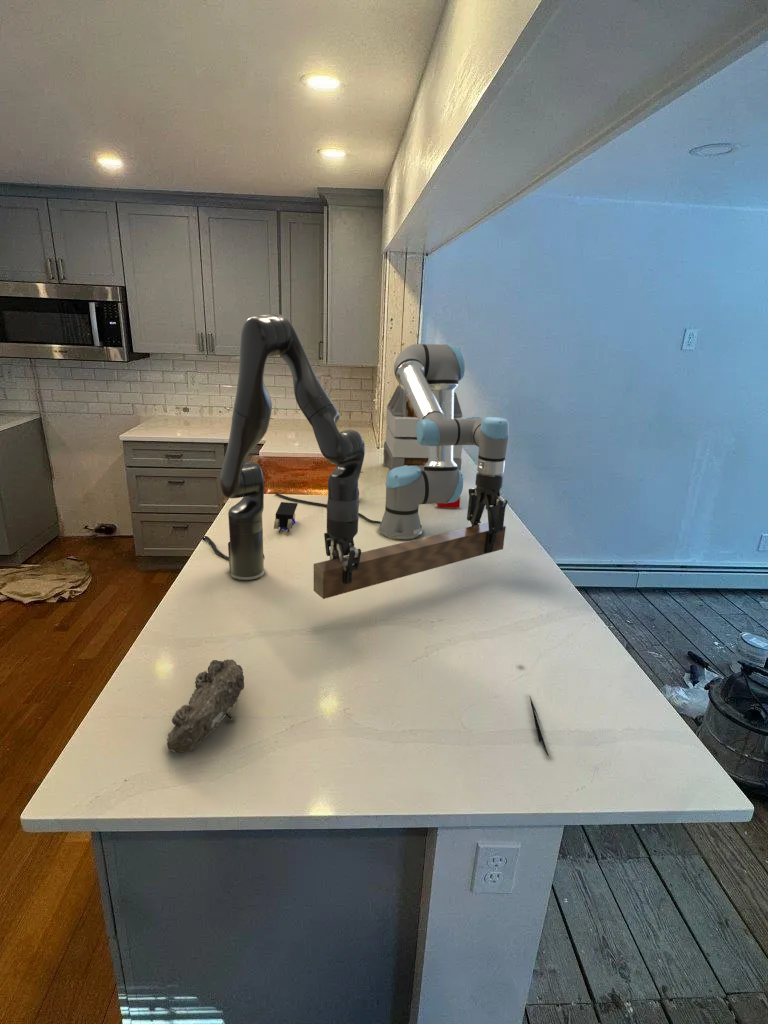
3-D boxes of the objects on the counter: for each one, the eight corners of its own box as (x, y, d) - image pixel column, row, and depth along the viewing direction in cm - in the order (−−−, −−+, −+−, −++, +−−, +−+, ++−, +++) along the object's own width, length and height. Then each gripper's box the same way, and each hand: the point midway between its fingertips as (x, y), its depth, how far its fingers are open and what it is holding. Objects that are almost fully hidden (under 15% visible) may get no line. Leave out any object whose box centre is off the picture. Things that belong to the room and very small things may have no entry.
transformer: (382, 463, 289) (386, 382, 275) (445, 464, 293) (451, 384, 279) (390, 482, 257) (394, 392, 243) (460, 483, 261) (468, 394, 247)
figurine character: (293, 539, 194) (298, 519, 208) (292, 519, 191) (298, 500, 204) (273, 538, 194) (280, 518, 207) (272, 519, 191) (279, 500, 204)
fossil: (192, 660, 117) (244, 628, 112) (224, 691, 120) (276, 661, 115) (142, 746, 98) (202, 712, 93) (182, 779, 101) (242, 748, 96)
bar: (491, 543, 174) (493, 520, 171) (503, 549, 170) (505, 526, 167) (313, 590, 140) (313, 563, 138) (323, 599, 136) (323, 571, 134)
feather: (521, 671, 128) (526, 665, 127) (548, 760, 101) (555, 753, 101) (514, 667, 128) (520, 661, 127) (540, 755, 101) (547, 748, 101)
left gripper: (314, 508, 138) (314, 571, 144) (344, 527, 127) (343, 594, 133) (340, 503, 143) (339, 564, 148) (372, 521, 132) (369, 586, 137)
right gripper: (458, 467, 165) (451, 540, 173) (504, 483, 151) (494, 562, 159) (477, 464, 169) (470, 536, 177) (523, 479, 155) (513, 557, 163)
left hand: (341, 578), depth 141 cm, fingers closed on bar, 5 cm apart
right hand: (481, 548), depth 168 cm, fingers closed on bar, 5 cm apart
